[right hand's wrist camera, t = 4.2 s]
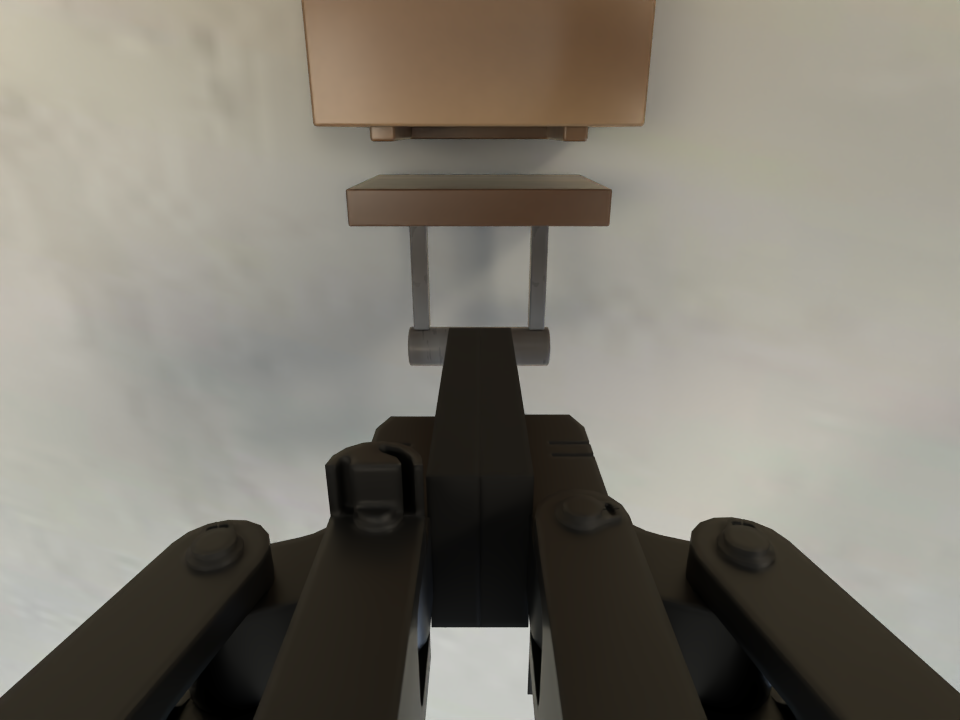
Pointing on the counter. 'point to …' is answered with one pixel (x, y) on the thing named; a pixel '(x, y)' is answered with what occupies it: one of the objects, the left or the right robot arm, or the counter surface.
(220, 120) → the counter surface
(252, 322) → the counter surface
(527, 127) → the drawer
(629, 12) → the cabinet
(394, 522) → the right robot arm
